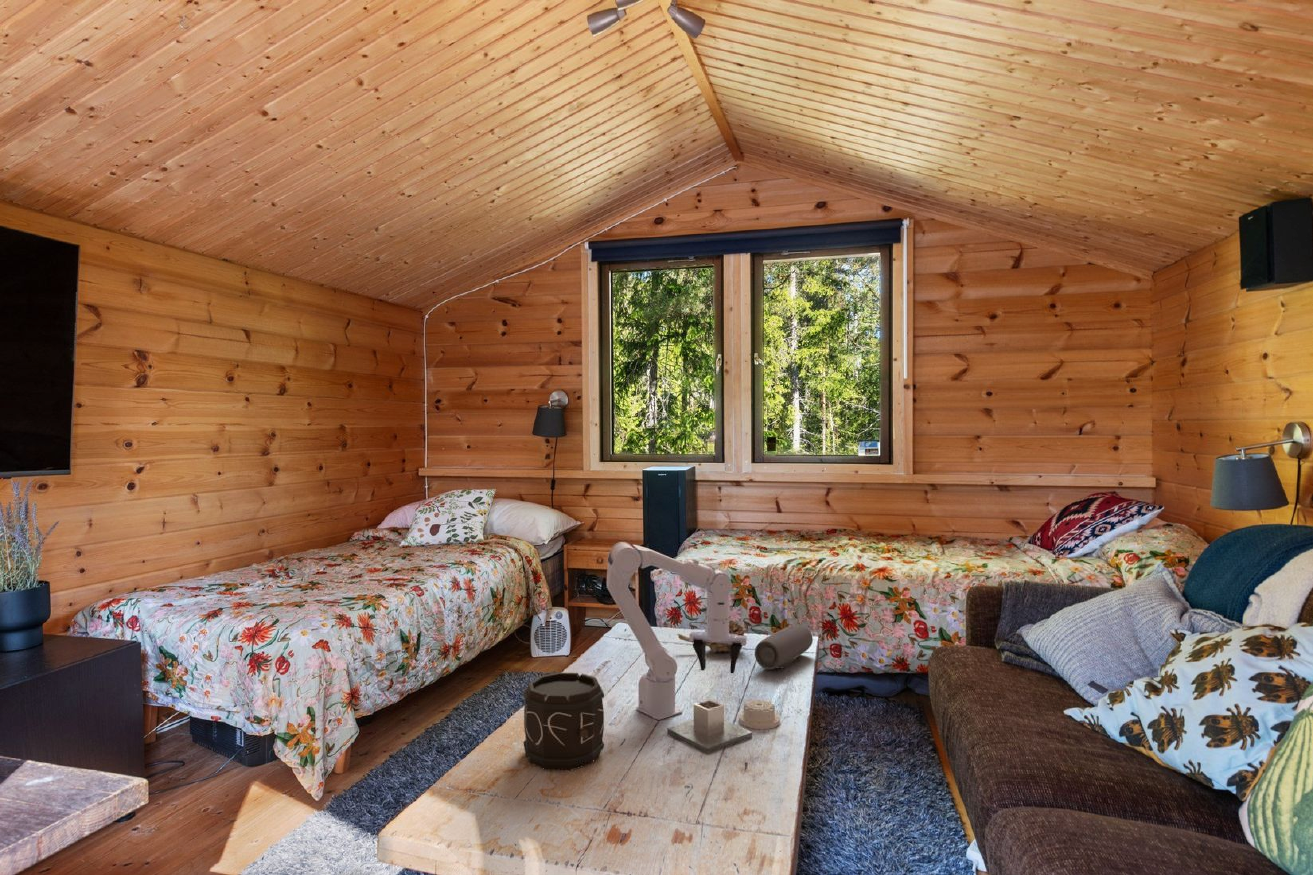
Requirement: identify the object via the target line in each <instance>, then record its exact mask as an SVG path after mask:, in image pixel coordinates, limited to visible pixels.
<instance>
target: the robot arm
mask: <svg viewBox="0 0 1313 875" xmlns="http://www.w3.org/2000/svg"><path fill="white" fill-rule="evenodd" d="M606 565H607V567H606V568H607V570H606V588H607V590H608V592H609V593H610V595H611V597H612V599H613V600H614V602H615V604H616V606H617V607H618V609H619V610H620V611H619V612H620V613H621V614H622V616H623V618H624V619H625V621H626V624H628V626H629V628H630V630H631V632H632V633H633V635H634V637H635V639H636V640H637V643H638V644H639V646H640V648H641V649H642V652H643V654H644V662H645V664H646V666H647V667H648V670H647V672H645V673H643V674H642V675H641V677H640V678H639V681H638V684H637V685H638V689H637V690H638V692H637V694H638V702H637V703H638V706H636V707H635V710H637V711H639V712H641V713H643V714H645V715H648V716H649V717H651V718H654V719H656V720H657V721H661V720H663V719H666V718H669V717H673V716H676V715H679V714H682V713H683V710H682V709H680V708H678V707H676V673H677V671H678V664H677V661H676V659H674V657H673V656H671V654H670V652H669V651H668V649H667V648H665V647H664V646H663V645H662V644H661V642H660V640H659V639H658V637H657V635H656V634H655V632H654V630H653V628H652V626H651V624H650V623H649V622H648V619H647V617H646V616H645V614H644V613H643V611H642V609H641V607H640V606H639V604H638V602H637V600H636V598H635V597H634V595H633V594H632V592H631V589H629V585H630V583H631V580H632V577H633V576H634V574H635V573H636V572H637V570H638V569H639V567H640V568H641V569H645V568H648V567H650V566H652V567H655V568H658V569H661V570H665V571H668V572H670V573H673V574H677V575H678V577H679V580H680V581H681V582H683V583H687V584H689V585H691V586H693V587H697V588H700V589H703V590H706V630H707V632H705V631H690V633H689V635H688V636H689V637H688V638H689V641H694V642H693V643H692V648H693V650H694V652H695V654H696V656H697V659H698V662H699V665H700V671H705V669H706V667H707V665H706V649H707V648H706V647H707V646H706V642H717V643H728V644H732V645H731V647H730V651H729V652H730V669H729V672H730V674H734V673H735V671H736V666H737V665H736V664H737V660H738V657H739V654H740V652H741V650H742V648H743V647H746V645H747V641H748V640H747V635H745V636H741V635H735V634H730V633H729V622H730V592H732V590H733V587H734V586H733V583H732V579H731V577H730V576H729V575H728V574H726V573H725V572H724V571H722V570H720V569H718V568H716V566H714V565H713V566H712V565H710V566H709V565H708V566H707V565H705V564H702V563H700V560H698V559H695V558H692V560H691V559H686V560H684V561H679V560H677V559H675V558H672V557H670V556H667V555H665V554H662V553H661V552H658V551H655V550H653V549H650V548H648V547H644V546H642V545H641V546H640V545H639V544H632V545H631V544H630V543H628V542H626V541H619V542H617V543H615V544H613V546H612V547H611V548H610V550H609V553H608V556H607V557H606Z"/></svg>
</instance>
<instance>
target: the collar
mask: <svg viewBox="0 0 1313 875" xmlns="http://www.w3.org/2000/svg"><path fill="white" fill-rule="evenodd" d="M693 720H694V730H695V731H697V732H700V733H702V734H704V735H706V736H711V735H714V734H717V733H720V732H723V731H724V720H725V705H724V704H721V703H719V702H718V701H714V700H712V699H706V700H702V701H700V702H699V701H698V702H697V703H693Z"/></svg>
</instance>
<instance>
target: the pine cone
mask: <svg viewBox="0 0 1313 875" xmlns="http://www.w3.org/2000/svg"><path fill="white" fill-rule="evenodd" d="M704 632H707V629H705V631H704ZM729 633H730V634H735V635H741V636H746V635H745V634H746V633H745V628H744V627H743V626H742V624H739V622H738V621H736V622H734V621H733V620H729ZM676 635H677V637H678V639H680V641H684V642H687V643H692V644H693V642H694V641H689V637H688V636H685V635H683V634H680V633H677V634H676ZM731 645H732V644H728V643H717V642H706V647H708V648H709V650H710V651H711V652H712V653H716V652H718V653H721V652H722V651H723V652H727V651H729V652H730V647H731Z"/></svg>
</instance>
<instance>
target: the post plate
mask: <svg viewBox="0 0 1313 875" xmlns="http://www.w3.org/2000/svg"><path fill="white" fill-rule="evenodd" d="M666 733H667V735H670V736H672V737H673V738H676V739H677V740H679V741H682V742H683V743H686V745H687V744H688V745H689V746H691V747H693V748H695V749H697V750H699V751H701V752H703V753H705V754H710V753H713V752H716V751H718V750H721V749H724V748H726V747H730V746H732V745H734V744H737V743H741V742H743V741H745V740H749V739H751V738H753V732H752V731H750V730H748V729H746V728H744V727H742V726H740V725H737V724H735V723H733V722H730V721H728V720H726V719H724V731H723V732H720V733H717V734H714V735H711V736H706V735H704V734H702V733H700V732H697V731H695V730H694V719H690V720H688V721H685V722H683V723H679V724H676V725H673V726H669V727H667V728H666Z"/></svg>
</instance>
